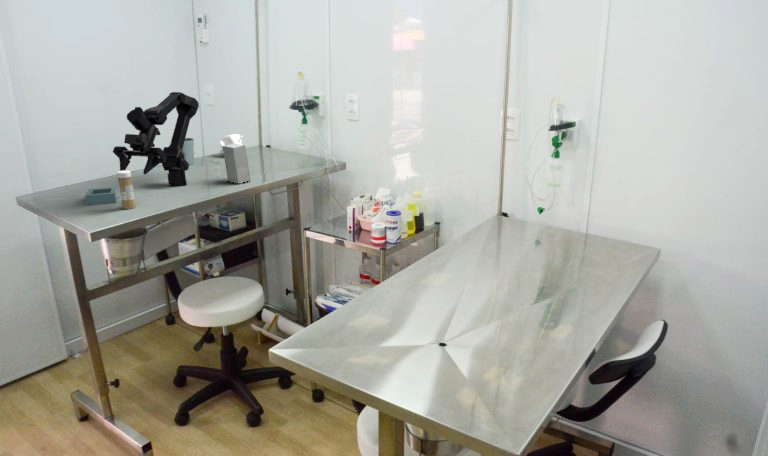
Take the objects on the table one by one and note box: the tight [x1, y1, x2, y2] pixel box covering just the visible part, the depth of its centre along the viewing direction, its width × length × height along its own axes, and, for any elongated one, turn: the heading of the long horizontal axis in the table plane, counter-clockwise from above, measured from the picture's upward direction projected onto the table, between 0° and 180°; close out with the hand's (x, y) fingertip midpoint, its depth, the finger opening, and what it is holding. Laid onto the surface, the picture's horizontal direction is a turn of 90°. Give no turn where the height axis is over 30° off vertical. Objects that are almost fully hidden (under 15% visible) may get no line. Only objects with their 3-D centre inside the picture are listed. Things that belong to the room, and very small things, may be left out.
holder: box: [84, 186, 120, 206], centre depth 208 cm, size 10×10×4 cm
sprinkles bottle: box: [116, 169, 136, 210], centre depth 197 cm, size 5×5×13 cm
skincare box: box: [222, 144, 252, 185], centre depth 232 cm, size 8×7×16 cm
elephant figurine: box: [219, 133, 244, 156], centre depth 280 cm, size 12×18×12 cm
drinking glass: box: [182, 137, 195, 166], centre depth 265 cm, size 10×10×12 cm
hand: (132, 173), depth 200 cm, fingers open, 9 cm apart
